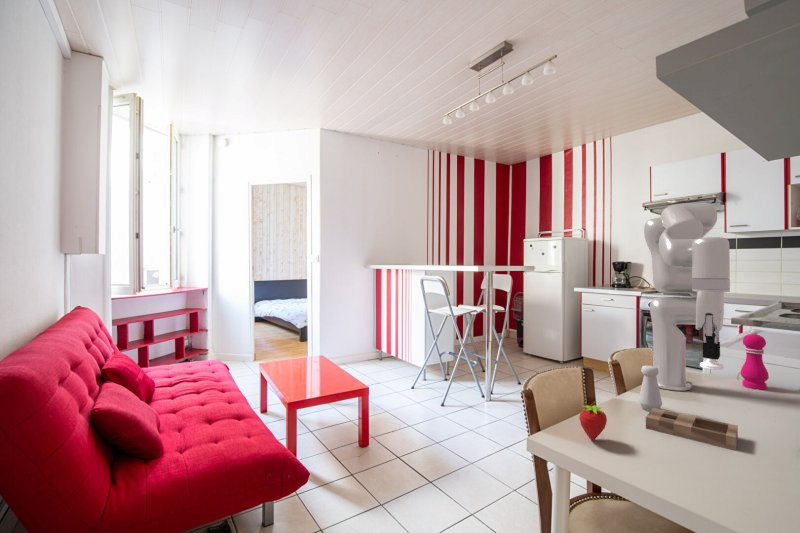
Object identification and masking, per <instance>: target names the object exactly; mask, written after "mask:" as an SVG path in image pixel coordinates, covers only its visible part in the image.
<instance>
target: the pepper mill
mask: <svg viewBox="0 0 800 533" xmlns="http://www.w3.org/2000/svg"><path fill="white" fill-rule="evenodd" d="M742 344H743V345H744V346H745V347H744V352H745V355H746V357H745V361H744V363H743V365H742V367H741V369H740V376H741V377H742V378H743V380H741V382H742V387H744V388H746V389H750V388H752V389H751V390H756V389H760V390H759V391H765V389H766V390H767V389H768V388H767V387H768V384H767V383H766V382H767V381H768V380H769V372H768V370H767V368H766V366H765V365H764V360H763V355H764V354H765V352H764V351H765V349H764V348H765V347H766V345H767V341H766V339H765V338H764V337H763V336H761V335H759V334H758V331H757V330H756V329H752V330H750V334H746V335H744V337H742Z"/></svg>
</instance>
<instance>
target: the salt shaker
mask: <svg viewBox="0 0 800 533" xmlns="http://www.w3.org/2000/svg"><path fill="white" fill-rule="evenodd" d="M640 370H641V373H642V375H643V379H642V383H641V388H640V392H639V398H638V402H639V404H640V406H641V408H642V410H643V411H646V412H648V413H649V412H650V411H651V410H652V408H657V409H661V407H662V405H663V401H662V397H661V396H662V395H661V392H660V388H659V387H658V382H657V377H656V375H658V373H659V371H658V368H656V367H654V366H653V365H650V364H649V365H642V367H641V369H640Z"/></svg>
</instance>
